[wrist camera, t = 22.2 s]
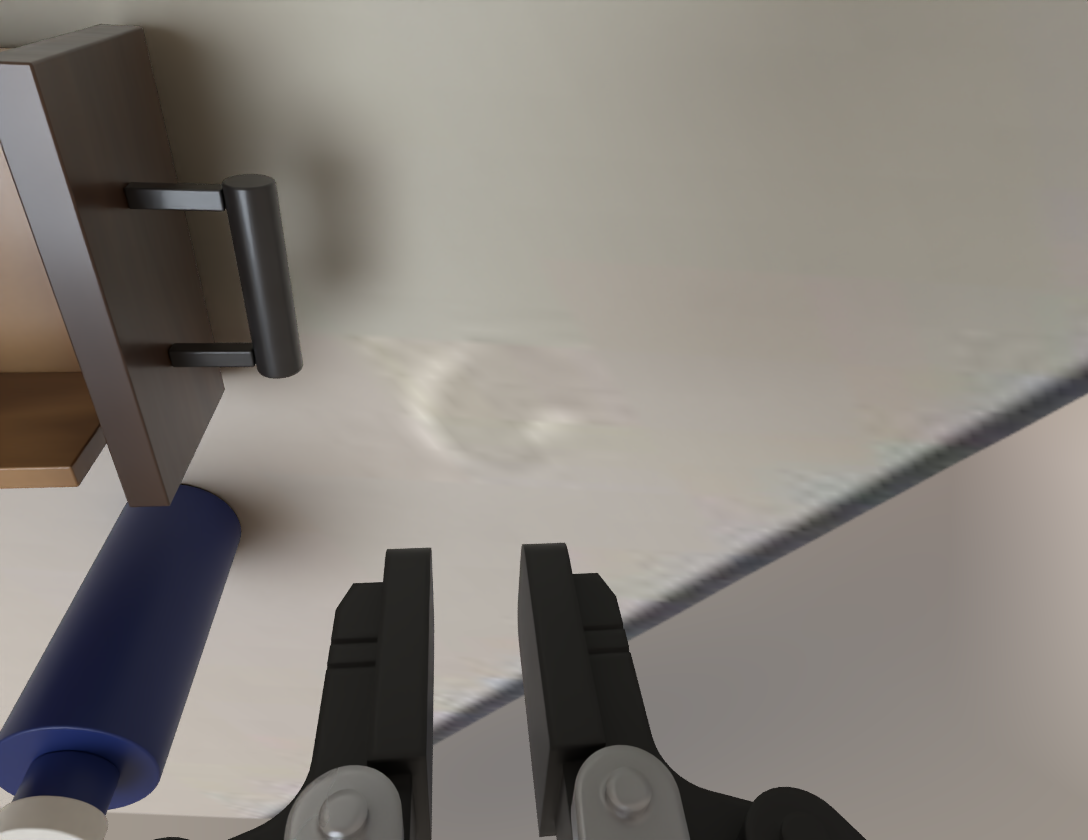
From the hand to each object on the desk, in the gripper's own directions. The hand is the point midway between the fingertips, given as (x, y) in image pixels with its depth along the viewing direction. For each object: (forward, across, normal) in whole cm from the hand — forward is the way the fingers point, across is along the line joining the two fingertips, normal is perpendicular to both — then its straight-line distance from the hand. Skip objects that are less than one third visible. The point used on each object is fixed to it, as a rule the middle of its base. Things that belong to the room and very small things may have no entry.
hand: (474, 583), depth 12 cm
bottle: (+17, +12, +14) cm, 25 cm away
